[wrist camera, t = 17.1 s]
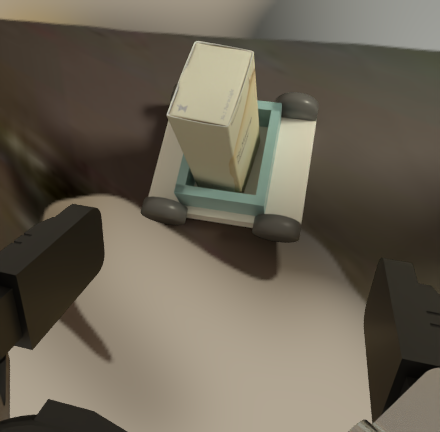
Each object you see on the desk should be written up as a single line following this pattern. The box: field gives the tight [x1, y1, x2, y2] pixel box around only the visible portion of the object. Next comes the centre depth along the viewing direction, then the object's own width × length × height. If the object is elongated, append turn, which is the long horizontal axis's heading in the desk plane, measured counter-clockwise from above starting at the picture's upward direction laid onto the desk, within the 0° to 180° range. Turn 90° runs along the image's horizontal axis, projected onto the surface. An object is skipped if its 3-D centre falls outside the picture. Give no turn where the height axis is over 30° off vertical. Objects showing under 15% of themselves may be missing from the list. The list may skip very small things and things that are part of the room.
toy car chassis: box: [141, 83, 319, 242], centre depth 38 cm, size 14×13×4 cm
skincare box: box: [167, 41, 260, 194], centre depth 33 cm, size 6×4×12 cm
